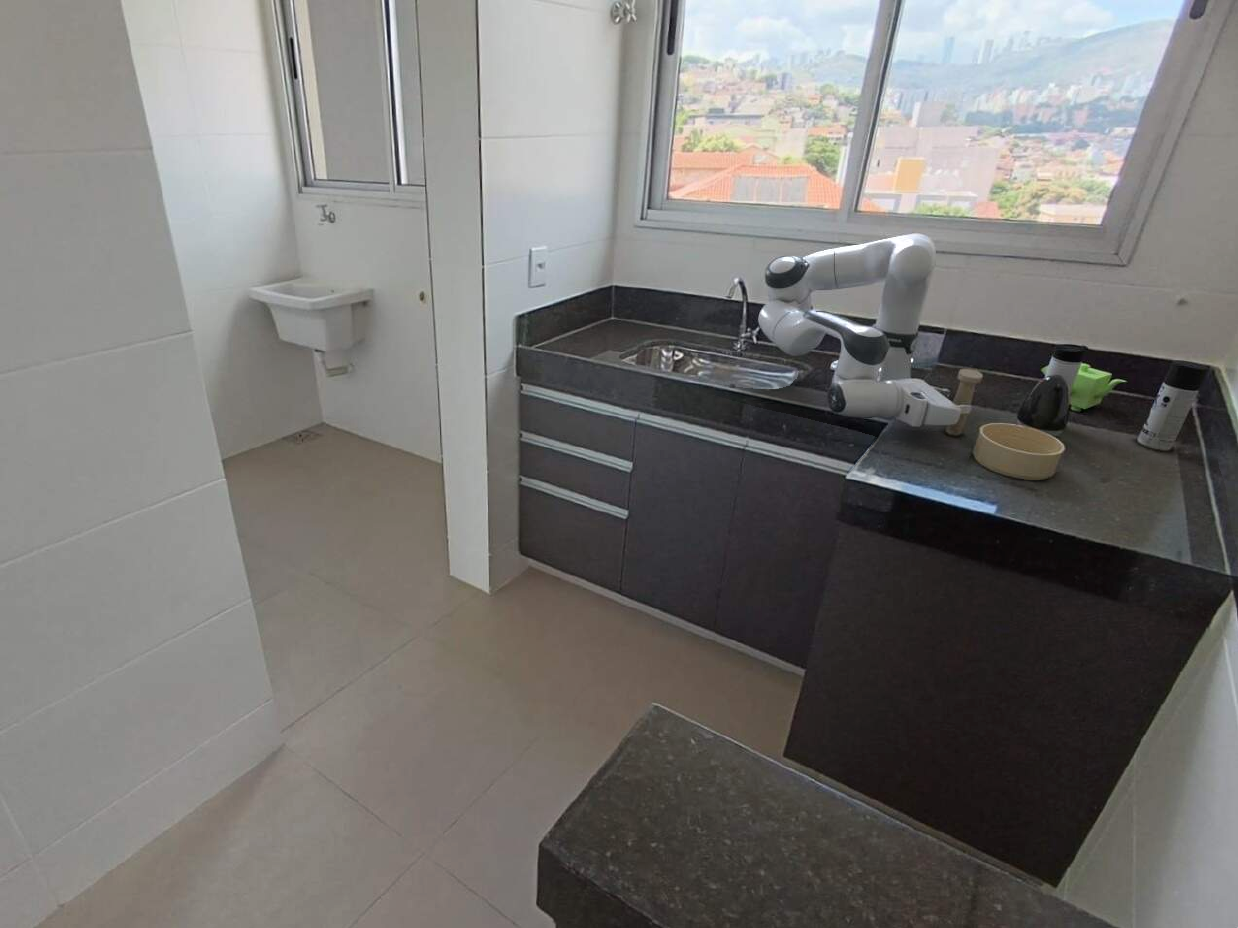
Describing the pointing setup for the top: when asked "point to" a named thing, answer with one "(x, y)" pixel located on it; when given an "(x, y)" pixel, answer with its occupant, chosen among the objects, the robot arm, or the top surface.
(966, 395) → the handle
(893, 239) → the robot arm
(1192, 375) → the spray can
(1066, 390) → the black tapered dome
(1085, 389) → the kettle
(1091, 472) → the top surface
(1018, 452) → the bowl
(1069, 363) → the travel mug
